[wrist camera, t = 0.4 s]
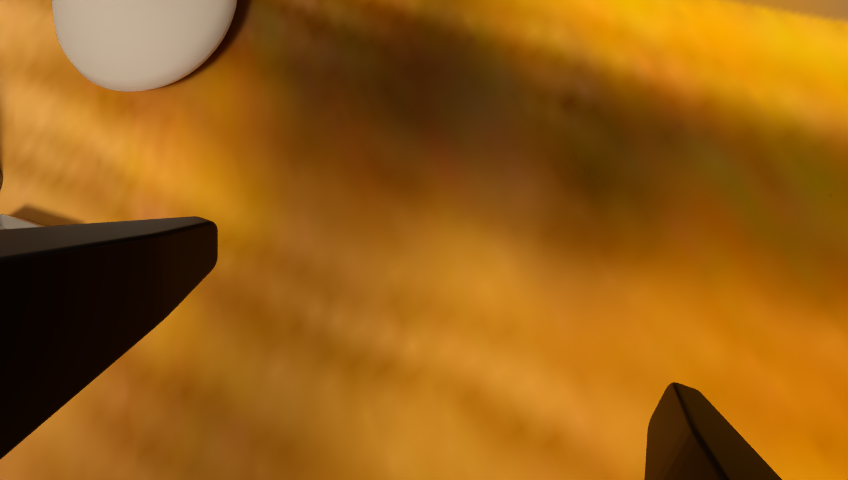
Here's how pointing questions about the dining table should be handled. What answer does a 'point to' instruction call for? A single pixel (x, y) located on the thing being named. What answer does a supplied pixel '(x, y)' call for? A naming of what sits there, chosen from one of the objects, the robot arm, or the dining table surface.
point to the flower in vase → (140, 38)
